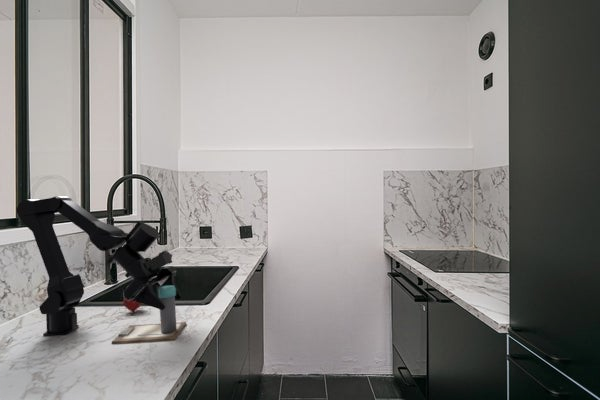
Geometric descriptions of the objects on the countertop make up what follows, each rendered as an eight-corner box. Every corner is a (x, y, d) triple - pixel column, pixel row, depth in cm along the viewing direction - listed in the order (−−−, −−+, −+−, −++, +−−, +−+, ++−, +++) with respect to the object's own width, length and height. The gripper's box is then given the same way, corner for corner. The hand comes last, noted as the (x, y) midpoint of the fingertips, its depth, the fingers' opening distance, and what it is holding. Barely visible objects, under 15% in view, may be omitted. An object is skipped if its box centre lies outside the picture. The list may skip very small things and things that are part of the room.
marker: (161, 334, 95) (158, 289, 95) (160, 330, 99) (157, 286, 99) (178, 331, 97) (176, 287, 97) (176, 326, 101) (174, 284, 101)
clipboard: (111, 343, 92) (111, 339, 92) (130, 327, 104) (129, 323, 104) (175, 340, 93) (175, 335, 93) (186, 324, 105) (186, 320, 105)
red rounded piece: (146, 309, 121) (145, 286, 121) (132, 315, 115) (131, 290, 115) (134, 308, 123) (133, 285, 123) (119, 313, 118) (119, 289, 118)
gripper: (132, 247, 89) (175, 291, 88) (169, 239, 108) (205, 275, 106) (104, 278, 90) (146, 323, 89) (145, 265, 109) (181, 301, 107)
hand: (172, 303), depth 98 cm, fingers open, 9 cm apart
